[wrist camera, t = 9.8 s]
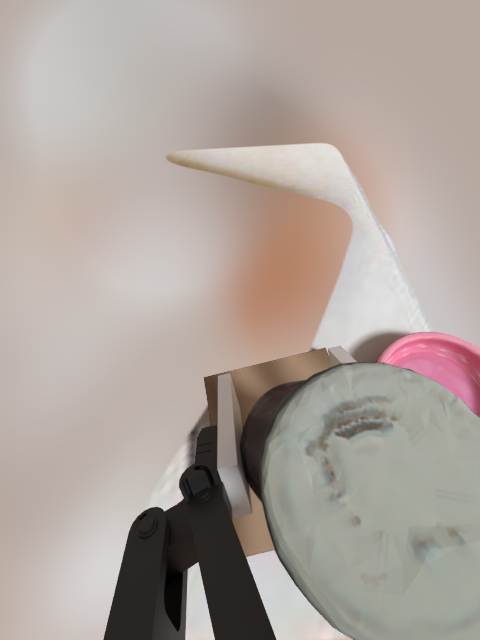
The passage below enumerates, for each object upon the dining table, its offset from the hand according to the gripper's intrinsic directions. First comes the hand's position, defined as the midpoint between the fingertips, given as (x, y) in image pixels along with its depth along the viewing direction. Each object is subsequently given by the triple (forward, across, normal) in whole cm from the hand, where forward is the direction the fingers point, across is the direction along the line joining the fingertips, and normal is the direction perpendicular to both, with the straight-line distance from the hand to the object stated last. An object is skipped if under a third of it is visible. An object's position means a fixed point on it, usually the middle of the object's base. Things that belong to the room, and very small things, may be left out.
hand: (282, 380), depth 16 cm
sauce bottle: (+4, 0, -9) cm, 9 cm away
